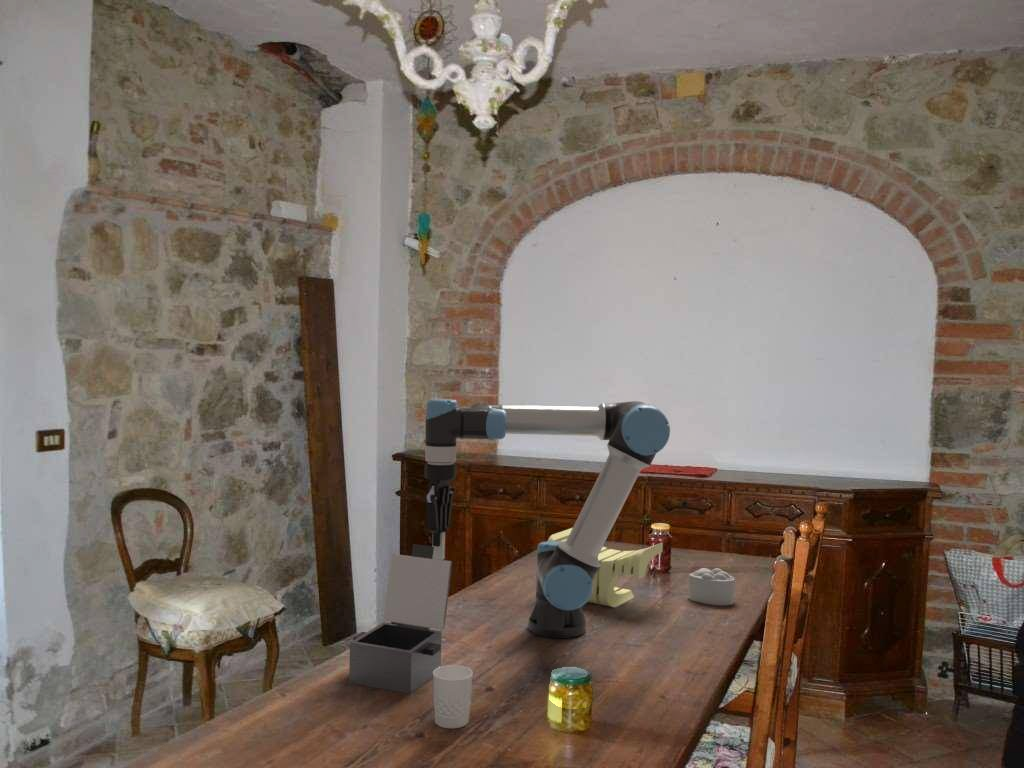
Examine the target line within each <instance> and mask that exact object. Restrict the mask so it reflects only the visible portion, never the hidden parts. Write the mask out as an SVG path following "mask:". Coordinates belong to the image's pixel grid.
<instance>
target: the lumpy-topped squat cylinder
mask: <svg viewBox="0 0 1024 768" xmlns="http://www.w3.org/2000/svg"><path fill="white" fill-rule="evenodd" d="M688 575H689V577H688V597H687V598H688V599H689V600H691V601H693V602H697V603H700V604H701V603H702V604H705V605H706V604H707V605H713V606H731V605H734V604H735V595H736V593H735V591H736V588H735V587H736V579H735V577H734V576H733V575H730V574H729V573H728V572H726V571H723V570H722V569H721V568H719V567H716V568H713V569H710V568H707V567H701V568H699V569H697V570H695V571H693V572H692V573H689V574H688Z"/></svg>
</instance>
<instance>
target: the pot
mask: <svg viewBox="0 0 1024 768" xmlns="http://www.w3.org/2000/svg"><path fill="white" fill-rule="evenodd" d="M442 631H443V630H442ZM442 631H441V630H437V629H431V628H430V629H423V628H417V627H410V626H404V625H398V624H397V623H392V622H386V621H383V622H382V623H380V624H378V625H377V626H375V627H373V628H372V629H369V630H368V631H361V632H359V633H358V634H356V635H355V636H353V637H352V638H353V640H352V641H350V642H349V670H348V671H349V673H348V676H349V678H348V681H349V682H348V683H350V684H354V685H359V686H364V687H371V688H375V689H381V690H386V691H392V692H397V693H401V694H408V695H412V694H413V693H415V691H417V690H418V689H419V688H421V686H423V685H424V684H425V683H427V682H428V681H429V680H430V679H431V678H432V679H433V671H434V670H435V669H436V668H438V667H441V666H442V638H443V637H442V634H443V633H442Z"/></svg>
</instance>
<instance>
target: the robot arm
mask: <svg viewBox="0 0 1024 768" xmlns="http://www.w3.org/2000/svg"><path fill="white" fill-rule="evenodd" d="M425 410H426V411H425V439H424V440H425V442H424V443H425V444H424V445H425V447H424V449H423V451H424V452H425V454H424V457H425V458H424V460H425V462H426V463H425V464H424V478H425V479H426V480H429V486H428V493H425V494H423V499H424V503H425V513H426V523H427V531H428V532H429V533H432V537H431V539H432V541H431V544H432V545H431V546H432V547H434V550H433V558H432V559H438V560H445V559H446V557H445V555H446V532H447V533H448V532H450V525H451V518H452V509H453V500H454V495H455V491H456V488H455V487H453V486H452V487H451V481H452V480H455V478H456V476H457V475H456V474H457V473H456V471H457V469H456V468H457V465H456V463H455V462H456V461H457V440H458V439H463V440H464V439H465V440H466V439H469V440H470V439H471V440H490V441H493V440H503V439H505V437H506V435H507V434H509V435H513V434H514V435H544V436H546V435H548V436H549V435H550V436H581V437H582V436H583V437H584V436H586V437H588V436H590V437H597V438H598V439H600V441H608V442H607V444H606V446H607V449H608V456H607V458H606V461H605V462H604V465H603V467H602V468H601V470H600V472H599V475H598V477H597V478H596V481H595V482H594V485H593V486H592V489H591V490H590V492H589V495H588V496H587V498H586V500H585V502H584V504H583V506H582V508H581V511H580V513H579V515H578V517H577V519H576V521H575V523H574V525H573V526H572V527H571V528H572V530H571V533H570V535H569V537H568V539H567V540H566V541H548V540H547V541H548V542H547V541H543V542H539V543H538V544H537V549H536V577H535V579H536V581H535V584H536V585H535V599H534V603H533V605H532V608H531V611H530V614H529V617H528V625H527V626H528V630H529V631H530V632H531V633H533V634H535V635H538V636H540V637H545V638H553V639H569V638H575V637H578V636H581V635H583V634H584V633H586V630H587V621H586V617H585V612H584V610H583V606H584V605H585V604H587V603H588V602H587V601H588V600H589V598H590V596H591V593H592V587H593V584H592V581H593V579H594V577H595V575H596V573H597V571H598V569H599V567H600V563H599V560H598V555H599V553H600V551H601V549H602V547H604V544H605V542H606V540H607V539H608V536H609V535H610V533H611V532H612V528H613V527H614V525H615V523H616V521H617V520H618V519H617V518H618V517H619V515H620V513H621V511H622V508H623V507H624V505H625V503H626V501H627V499H628V497H629V495H630V493H631V491H632V489H633V486H634V484H635V482H636V481H637V479H638V477H639V476H640V475H639V474H640V473H641V471H642V470H643V469H646V468H650V466H651V464H652V462H653V461H654V459H655V457H656V455H657V453H659V452H660V451H662V450H663V449H664V447H665V446H666V445H667V443H668V442H669V440H670V433H671V429H670V428H671V427H670V423H669V420H668V418H667V416H666V415H665V414H664V413H663V412H662V411H661V409H659V408H658V407H656V406H654V405H651V404H649V403H644V402H643V401H639V400H638V401H634V400H633V401H624V402H611V403H610V402H601V403H600V404H599V405H598V406H580V405H579V406H576V405H575V406H574V405H572V406H571V405H570V406H569V405H539V404H537V405H535V404H528V405H527V404H496V403H495V404H493V403H492V404H489V403H486V402H477V403H475V404H473V405H472V406H470V407H467V408H466V407H459V405H458V401H457V400H456V399H453V398H452V399H451V398H431V399H429V400H428V401H427V402H426V409H425Z"/></svg>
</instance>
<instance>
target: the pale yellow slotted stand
mask: <svg viewBox="0 0 1024 768" xmlns="http://www.w3.org/2000/svg"><path fill="white" fill-rule="evenodd" d="M572 528H573V527H571V528H568V529H565V530H562V531H559V532H555V533H553V534H551V535H550V536H549V537H548V539H547V541H546V542H548V541H566V540H567V539H568V537H569V535H570V533H571V530H572ZM663 546H664V542H663V541H662V542H660V543H658V544H655V545H652V546H649V547H646V548H641V549H638V550H634V549H633V550H623V551H622V550H617V549H612V548H609V549H608V547H606V546H603V547H602V549H601V551H600V553H599V555H598V560H599V563H600V567H599V569H598V571H597V573H596V575H595V577H594V579H593V581H592V584H593V587H592V593H591V596H590V598H589V600H588V601H587V602H586V603H591V604H597V605H602V606H606V607H611V608H617V607H619V606H621V605H622V604H624V603H626V602H628V601H630V600H631V599H634V598H635V596H634V594H633V591H632V589H627V588H621V587H617V586H615V585H616V583H617V580H618V579H619V576H620V575H624V576H629V577H630V576H632V578H635V579H636V580H641V579H643V578H644V577H646V572H647V569H648V566H649V563H650V562H651V561H652V559H654V558H655V557H656V556H658V554H660V553H662V552H663V548H664V547H663Z"/></svg>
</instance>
